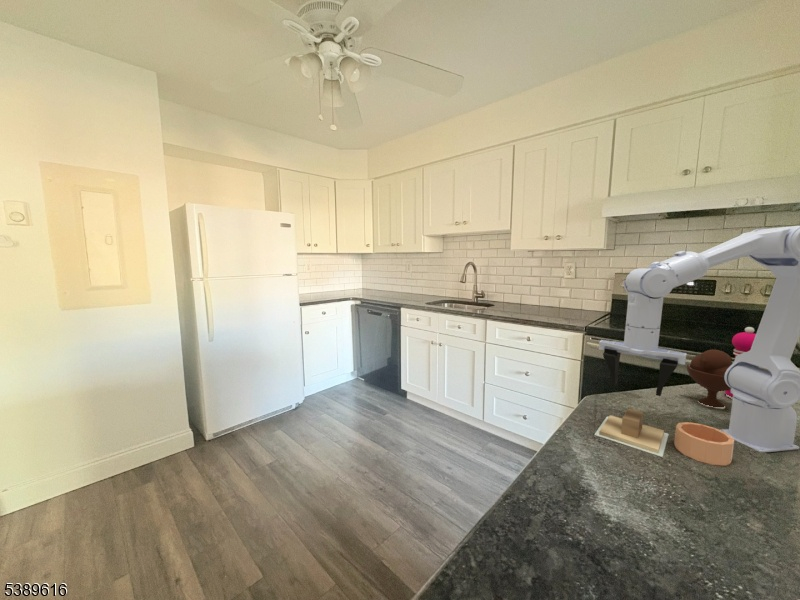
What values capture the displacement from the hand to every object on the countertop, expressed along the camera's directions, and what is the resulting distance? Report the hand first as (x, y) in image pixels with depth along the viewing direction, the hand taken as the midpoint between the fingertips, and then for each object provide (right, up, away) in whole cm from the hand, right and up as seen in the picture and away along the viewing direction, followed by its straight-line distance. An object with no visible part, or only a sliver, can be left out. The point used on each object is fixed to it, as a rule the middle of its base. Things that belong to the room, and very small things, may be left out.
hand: (635, 389), depth 68 cm
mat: (0, -11, +1) cm, 11 cm away
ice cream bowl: (+32, -9, +16) cm, 37 cm away
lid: (0, -10, +1) cm, 10 cm away
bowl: (+9, -11, -5) cm, 15 cm away
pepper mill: (+43, -8, +20) cm, 48 cm away
